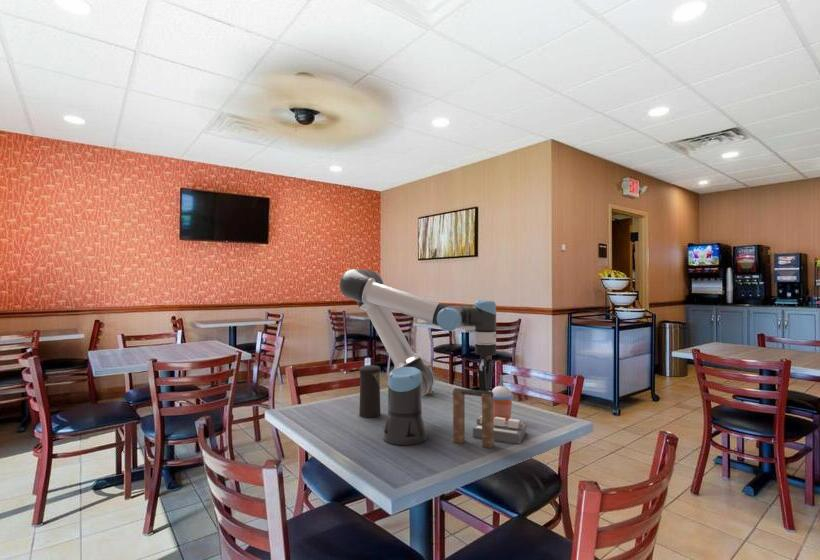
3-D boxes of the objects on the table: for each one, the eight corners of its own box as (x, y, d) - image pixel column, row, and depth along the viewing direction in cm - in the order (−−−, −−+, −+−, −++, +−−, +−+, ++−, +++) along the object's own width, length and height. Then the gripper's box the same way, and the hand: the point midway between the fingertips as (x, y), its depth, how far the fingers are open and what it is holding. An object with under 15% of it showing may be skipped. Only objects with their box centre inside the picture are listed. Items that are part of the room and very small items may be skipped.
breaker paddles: (480, 423, 154) (480, 416, 154) (481, 421, 157) (481, 414, 157) (518, 428, 149) (518, 421, 149) (519, 426, 151) (519, 419, 151)
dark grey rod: (452, 393, 147) (452, 388, 147) (454, 392, 148) (454, 387, 148) (492, 398, 141) (492, 392, 141) (494, 396, 142) (494, 391, 142)
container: (383, 416, 174) (383, 366, 175) (361, 419, 171) (361, 368, 171) (377, 410, 182) (377, 363, 183) (356, 413, 179) (356, 364, 179)
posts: (453, 442, 146) (452, 390, 146) (456, 438, 149) (456, 388, 149) (490, 448, 140) (490, 394, 140) (493, 444, 143) (493, 392, 143)
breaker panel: (472, 436, 151) (472, 422, 151) (482, 426, 161) (482, 413, 161) (519, 443, 144) (519, 428, 144) (526, 432, 154) (526, 418, 154)
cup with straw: (496, 426, 162) (496, 378, 162) (485, 419, 170) (485, 373, 171) (518, 424, 164) (517, 376, 164) (506, 417, 173) (506, 372, 173)
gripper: (491, 346, 148) (491, 415, 147) (500, 341, 159) (500, 405, 159) (469, 345, 151) (470, 412, 151) (480, 340, 163) (480, 403, 162)
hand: (485, 409), depth 155 cm, fingers closed
